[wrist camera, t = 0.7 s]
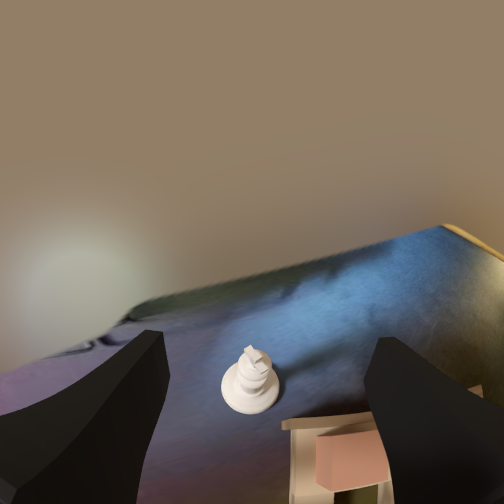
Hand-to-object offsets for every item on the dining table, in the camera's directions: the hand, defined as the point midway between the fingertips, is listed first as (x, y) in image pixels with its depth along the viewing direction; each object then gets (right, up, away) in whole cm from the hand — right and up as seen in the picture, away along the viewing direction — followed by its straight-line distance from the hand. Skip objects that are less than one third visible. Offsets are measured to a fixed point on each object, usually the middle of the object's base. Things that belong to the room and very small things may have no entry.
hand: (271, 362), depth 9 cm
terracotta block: (+6, -12, +7) cm, 15 cm away
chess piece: (-1, -8, +13) cm, 16 cm away
